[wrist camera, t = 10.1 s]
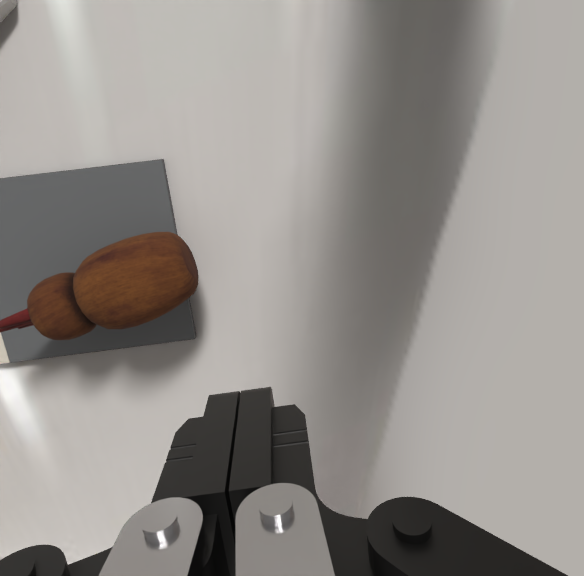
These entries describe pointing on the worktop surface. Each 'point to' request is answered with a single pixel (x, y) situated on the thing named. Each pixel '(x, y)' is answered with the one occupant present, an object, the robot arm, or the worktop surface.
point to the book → (79, 247)
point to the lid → (6, 8)
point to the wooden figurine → (112, 288)
